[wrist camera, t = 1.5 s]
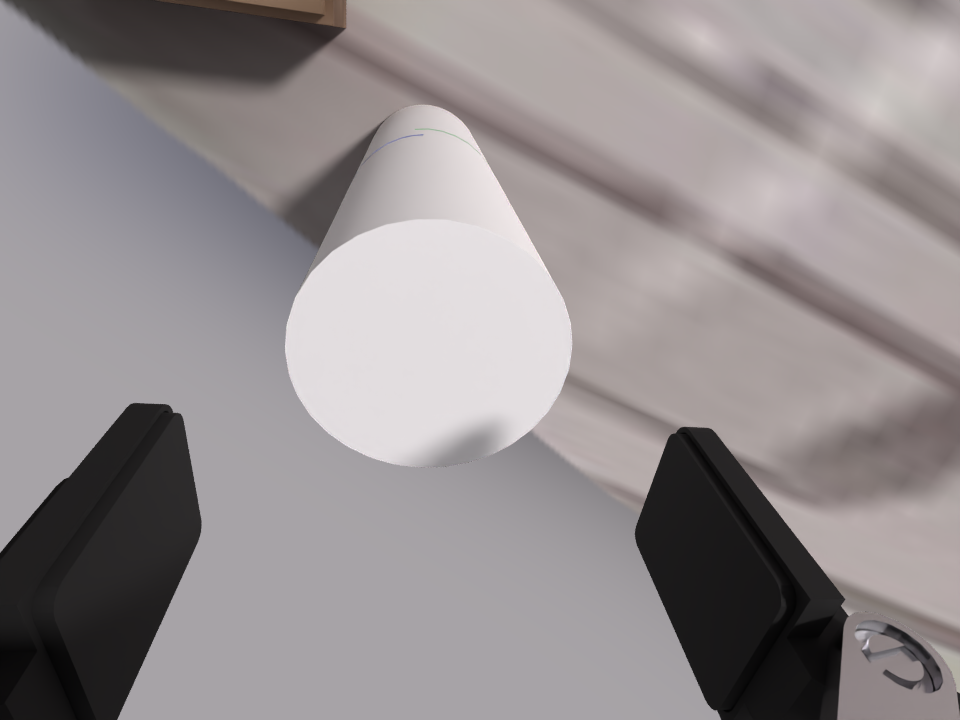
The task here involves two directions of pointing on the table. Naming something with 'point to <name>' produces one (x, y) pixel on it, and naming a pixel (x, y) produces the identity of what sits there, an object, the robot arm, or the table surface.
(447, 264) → the cylindrical container
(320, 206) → the table surface
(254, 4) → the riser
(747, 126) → the table surface
